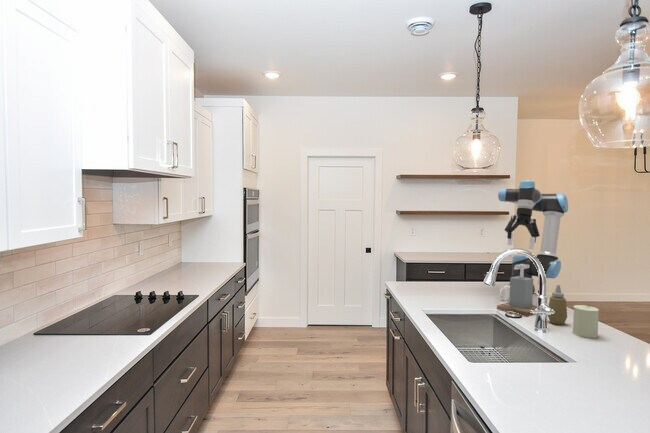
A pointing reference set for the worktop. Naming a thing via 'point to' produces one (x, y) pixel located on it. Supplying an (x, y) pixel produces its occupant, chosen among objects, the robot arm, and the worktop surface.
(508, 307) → the walnut caddy
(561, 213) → the robot arm
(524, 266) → the pump head
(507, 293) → the cup
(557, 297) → the squeeze bottle
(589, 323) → the can
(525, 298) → the soap dispenser
